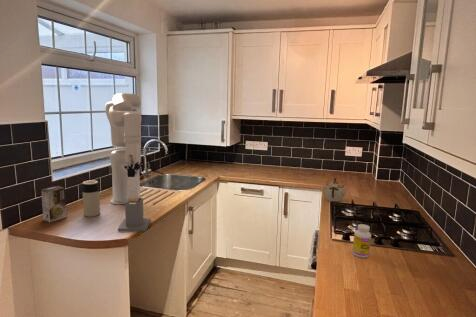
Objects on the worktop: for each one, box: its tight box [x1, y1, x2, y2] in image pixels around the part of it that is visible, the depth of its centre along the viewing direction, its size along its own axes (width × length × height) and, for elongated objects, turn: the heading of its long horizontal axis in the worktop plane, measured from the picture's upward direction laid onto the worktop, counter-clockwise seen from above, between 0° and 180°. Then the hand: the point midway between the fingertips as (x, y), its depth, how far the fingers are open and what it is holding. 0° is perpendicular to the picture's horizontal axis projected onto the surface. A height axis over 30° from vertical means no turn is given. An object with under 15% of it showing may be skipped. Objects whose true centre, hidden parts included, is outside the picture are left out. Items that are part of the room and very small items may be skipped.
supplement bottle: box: [352, 223, 372, 259], centre depth 134 cm, size 7×7×13 cm
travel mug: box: [81, 179, 101, 218], centre depth 169 cm, size 8×8×18 cm
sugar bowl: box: [322, 177, 347, 202], centre depth 209 cm, size 20×15×15 cm
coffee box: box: [40, 185, 68, 223], centre depth 161 cm, size 9×6×16 cm
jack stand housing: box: [117, 197, 151, 233], centre depth 155 cm, size 13×13×14 cm
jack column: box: [128, 168, 141, 202], centre depth 153 cm, size 5×5×20 cm
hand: (133, 174), depth 152 cm, fingers open, 9 cm apart
